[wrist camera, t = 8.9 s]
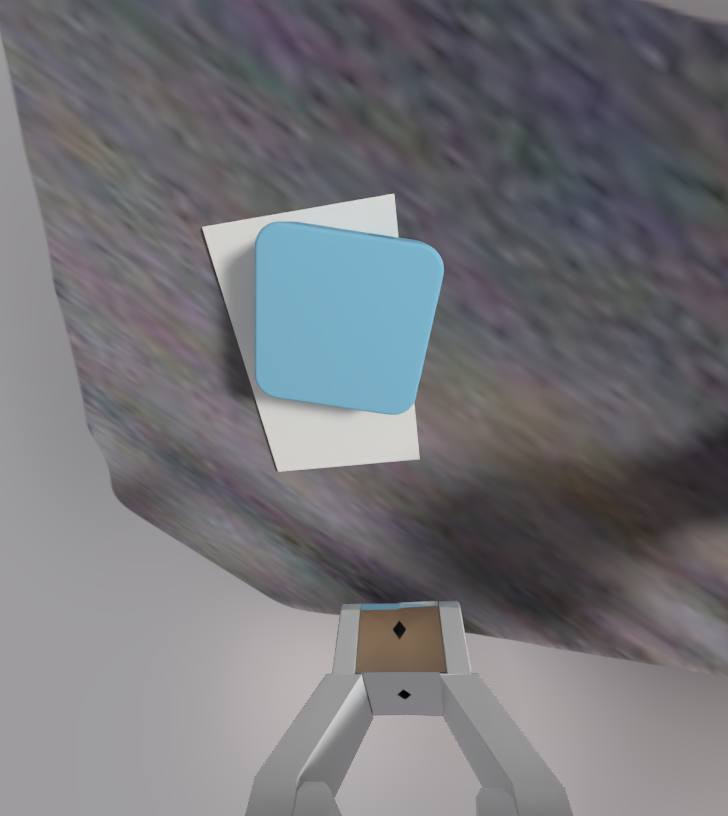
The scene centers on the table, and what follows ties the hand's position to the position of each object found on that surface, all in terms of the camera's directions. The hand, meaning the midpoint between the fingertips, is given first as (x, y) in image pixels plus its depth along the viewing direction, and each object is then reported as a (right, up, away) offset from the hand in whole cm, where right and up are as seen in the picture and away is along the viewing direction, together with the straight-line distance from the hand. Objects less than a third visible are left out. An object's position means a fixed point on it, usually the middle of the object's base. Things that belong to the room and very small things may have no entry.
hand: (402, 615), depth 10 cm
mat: (-4, +10, +21) cm, 24 cm away
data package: (+4, +11, +17) cm, 21 cm away
